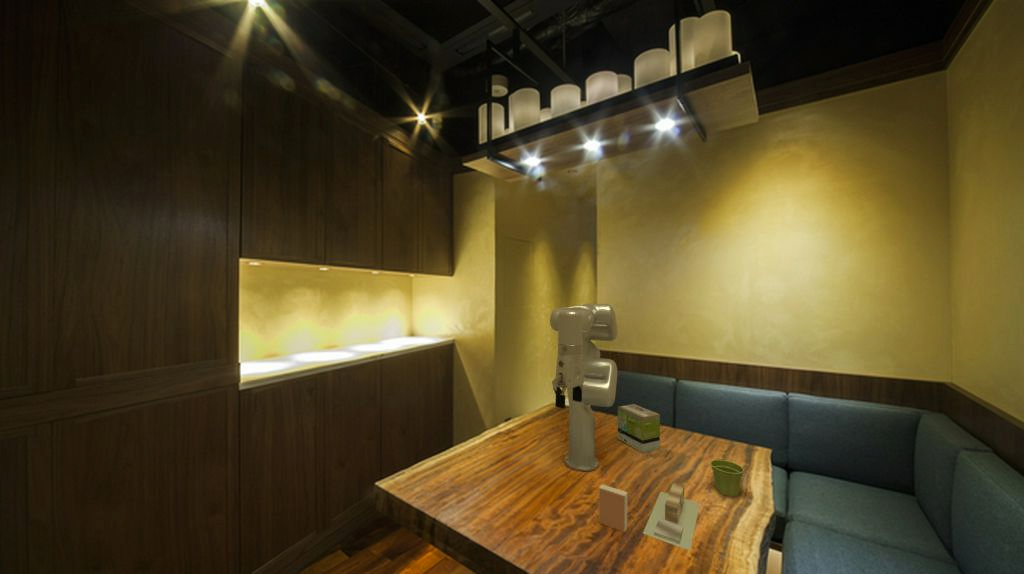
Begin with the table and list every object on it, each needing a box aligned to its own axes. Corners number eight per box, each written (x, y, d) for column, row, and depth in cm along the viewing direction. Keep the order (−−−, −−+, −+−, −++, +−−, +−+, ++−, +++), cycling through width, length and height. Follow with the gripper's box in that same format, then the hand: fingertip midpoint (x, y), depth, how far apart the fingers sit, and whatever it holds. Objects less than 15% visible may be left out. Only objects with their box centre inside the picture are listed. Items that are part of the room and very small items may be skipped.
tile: (601, 521, 96) (601, 484, 97) (627, 530, 93) (627, 492, 93) (598, 525, 95) (598, 487, 95) (624, 535, 91) (625, 496, 91)
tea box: (616, 439, 154) (616, 405, 154) (633, 436, 158) (634, 403, 159) (642, 453, 140) (642, 416, 141) (660, 449, 144) (660, 413, 145)
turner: (668, 497, 107) (668, 480, 108) (689, 503, 104) (689, 486, 104) (653, 534, 90) (653, 515, 90) (679, 544, 87) (679, 523, 87)
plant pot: (703, 486, 116) (703, 459, 116) (730, 485, 117) (730, 459, 117) (722, 502, 107) (722, 473, 107) (751, 501, 107) (751, 472, 108)
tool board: (660, 494, 110) (660, 491, 111) (699, 506, 104) (699, 503, 104) (642, 536, 90) (642, 533, 90) (690, 554, 84) (690, 550, 84)
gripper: (564, 353, 102) (563, 413, 101) (593, 348, 115) (593, 401, 114) (544, 350, 107) (542, 407, 106) (574, 346, 120) (573, 396, 119)
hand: (568, 404), depth 110 cm, fingers open, 9 cm apart
